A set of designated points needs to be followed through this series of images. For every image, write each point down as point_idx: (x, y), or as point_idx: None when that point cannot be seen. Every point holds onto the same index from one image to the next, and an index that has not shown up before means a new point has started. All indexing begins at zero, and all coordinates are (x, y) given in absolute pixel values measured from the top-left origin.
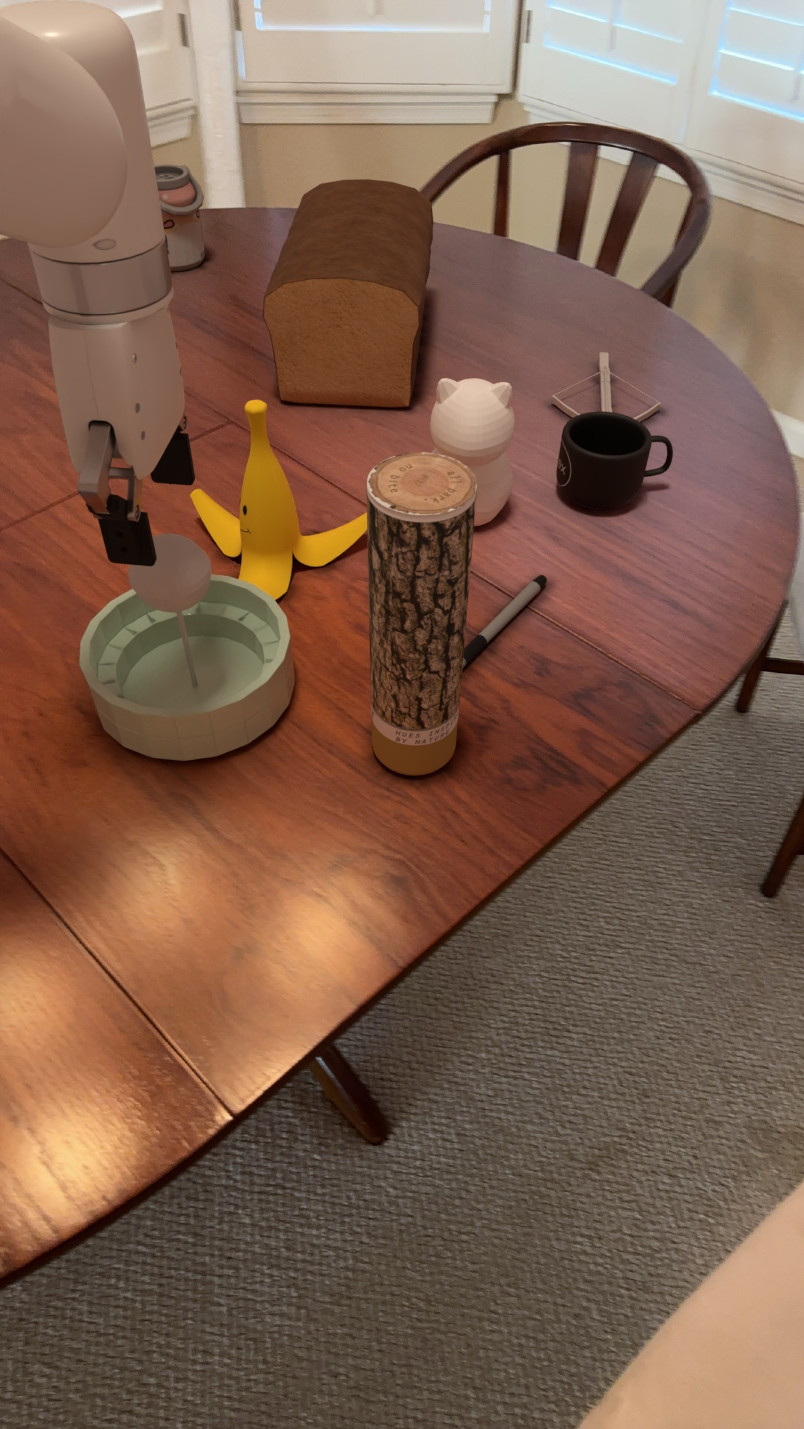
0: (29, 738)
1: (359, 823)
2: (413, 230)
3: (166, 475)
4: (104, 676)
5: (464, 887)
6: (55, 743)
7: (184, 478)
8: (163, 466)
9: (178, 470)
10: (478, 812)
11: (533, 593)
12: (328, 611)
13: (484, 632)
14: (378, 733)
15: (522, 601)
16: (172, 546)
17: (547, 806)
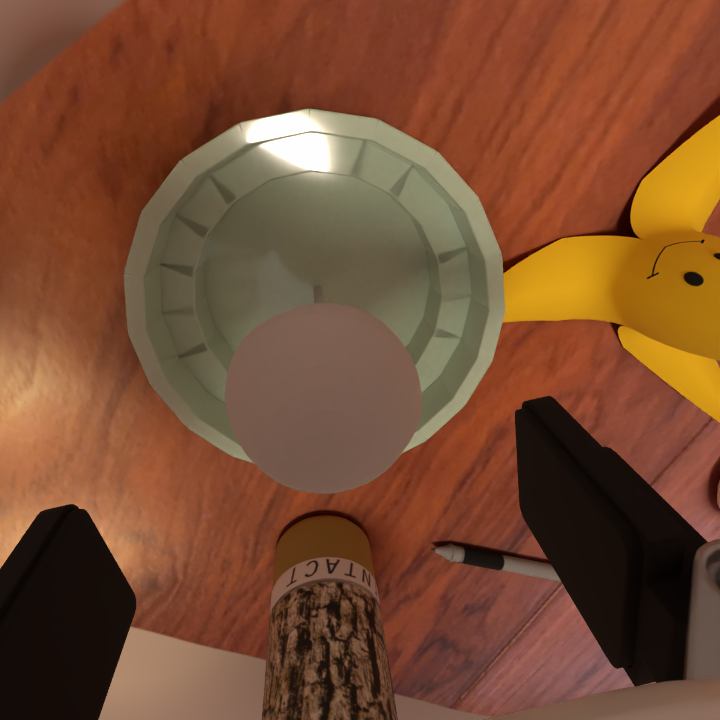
0: (111, 59)
1: (200, 536)
2: None
3: (530, 470)
4: (233, 175)
5: (176, 627)
6: (125, 116)
7: (529, 515)
8: (549, 490)
9: (544, 523)
10: (264, 613)
11: None
12: (525, 387)
13: (508, 568)
14: (281, 571)
15: None
16: (322, 473)
17: None
